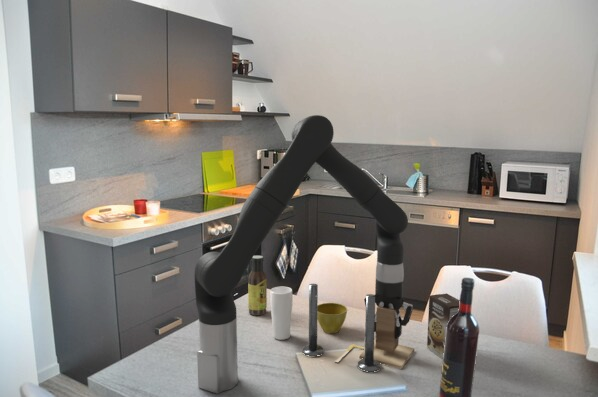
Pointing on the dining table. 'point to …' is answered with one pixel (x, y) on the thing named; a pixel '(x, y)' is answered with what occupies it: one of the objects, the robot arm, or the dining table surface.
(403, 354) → the pad
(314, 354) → the post left
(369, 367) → the post right
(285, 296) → the drinking glass
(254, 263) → the sauce bottle
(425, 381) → the dining table surface
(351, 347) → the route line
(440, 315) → the coffee box
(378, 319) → the walnut block
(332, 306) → the flower pot
